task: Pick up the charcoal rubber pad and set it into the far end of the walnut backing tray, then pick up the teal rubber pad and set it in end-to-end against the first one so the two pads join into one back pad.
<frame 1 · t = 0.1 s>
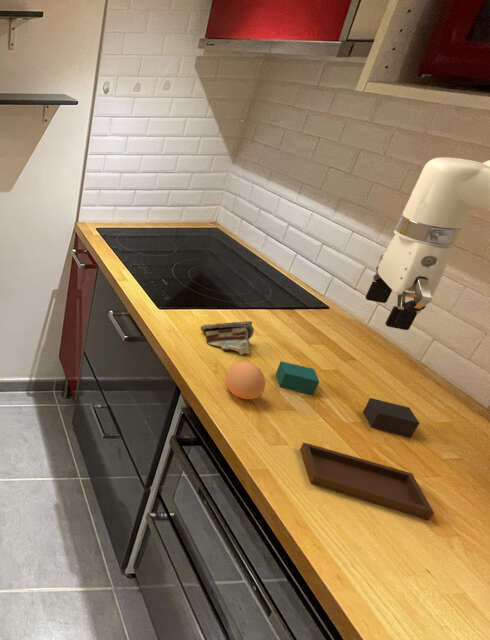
hand: (385, 313, 84), 26 cm above the worktop, tool pointing down, fingers open, 9 cm apart
backing tray: (359, 482, 80), on the worktop
charcoal pad: (385, 424, 93), on the worktop
egg: (239, 395, 100), on the worktop
teal pad: (293, 384, 103), on the worktop
chocolate cake: (225, 345, 116), on the worktop
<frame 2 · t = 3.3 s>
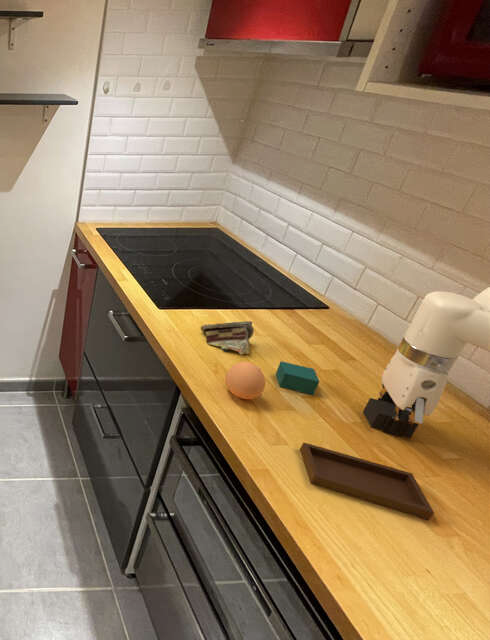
hand: (386, 423, 92), 0 cm above the worktop, tool pointing down, fingers closed on charcoal pad, 4 cm apart
charcoal pad: (385, 424, 93), on the worktop, touching gripper
everything else where it was.
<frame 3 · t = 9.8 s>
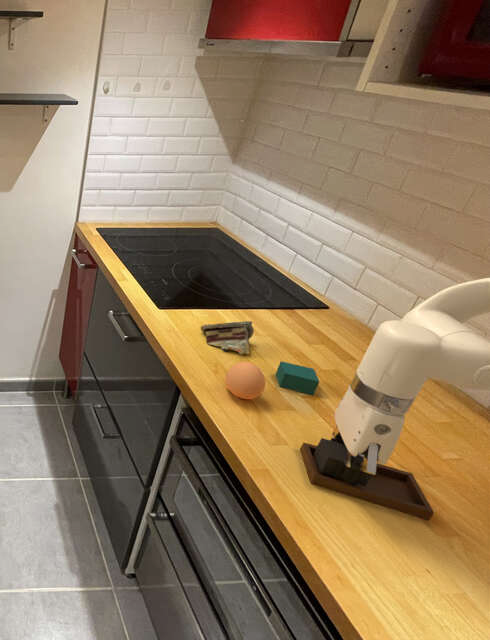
hand: (339, 467, 81), 2 cm above the worktop, tool pointing down, fingers closed on charcoal pad, 4 cm apart
charcoal pad: (338, 469, 81), point 2 cm above the worktop, touching gripper
everything else where it was.
when the fingers open (2 cm above the worktop, at t = 14.6 s): charcoal pad drops 2 cm, resting on backing tray.
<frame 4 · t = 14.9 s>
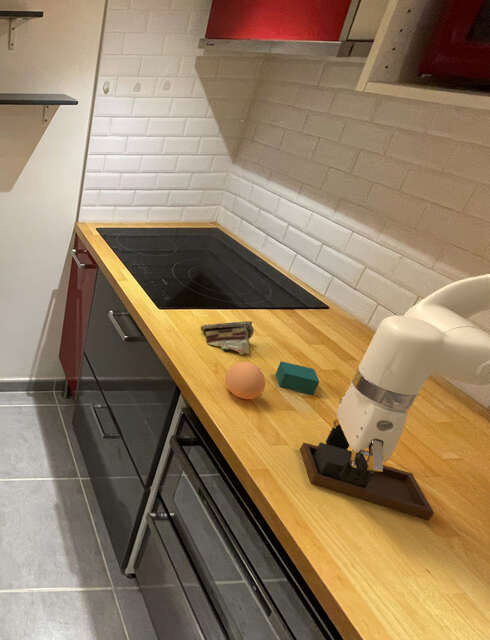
hand: (342, 462, 80), 3 cm above the worktop, tool pointing down, fingers open, 7 cm apart
charcoal pad: (337, 473, 81), resting on backing tray
everything else where it was.
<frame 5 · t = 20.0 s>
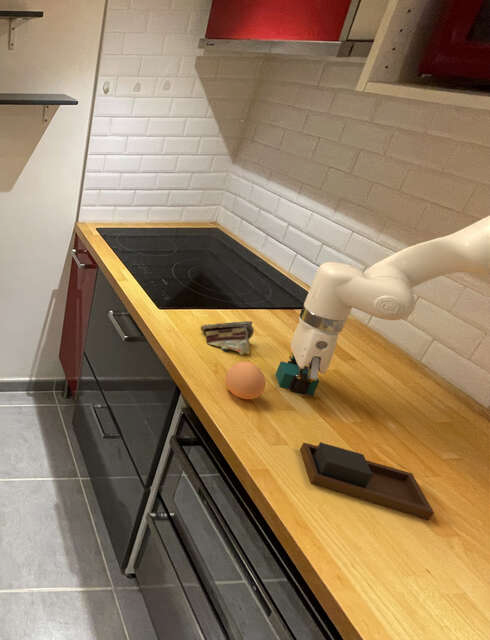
hand: (294, 383, 103), 0 cm above the worktop, tool pointing down, fingers closed on teal pad, 4 cm apart
teal pad: (293, 384, 103), on the worktop, touching gripper
everything else where it was.
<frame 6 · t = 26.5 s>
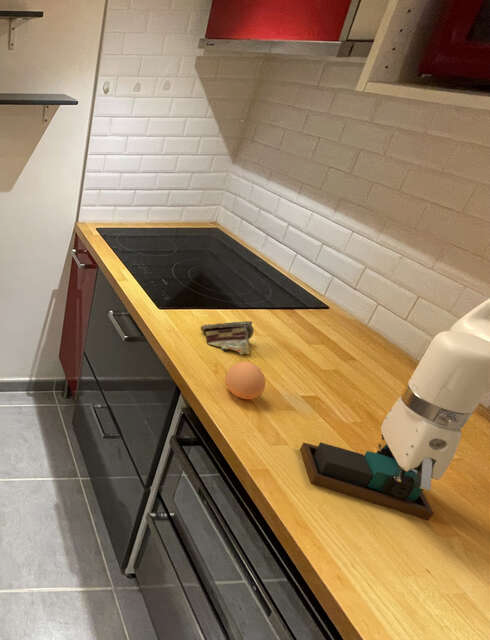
hand: (386, 481, 78), 2 cm above the worktop, tool pointing down, fingers closed on teal pad, 4 cm apart
teal pad: (385, 483, 78), point 2 cm above the worktop, touching gripper
everything else where it was.
when the fingers open (2 cm above the worktop, at t = 31.3 s): teal pad drops 2 cm, resting on backing tray.
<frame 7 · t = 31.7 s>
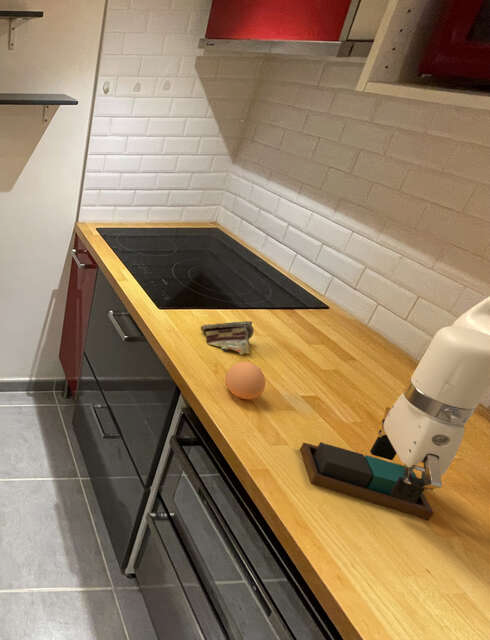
hand: (391, 475, 78), 3 cm above the worktop, tool pointing down, fingers open, 8 cm apart
teal pad: (384, 487, 79), resting on backing tray
everything else where it was.
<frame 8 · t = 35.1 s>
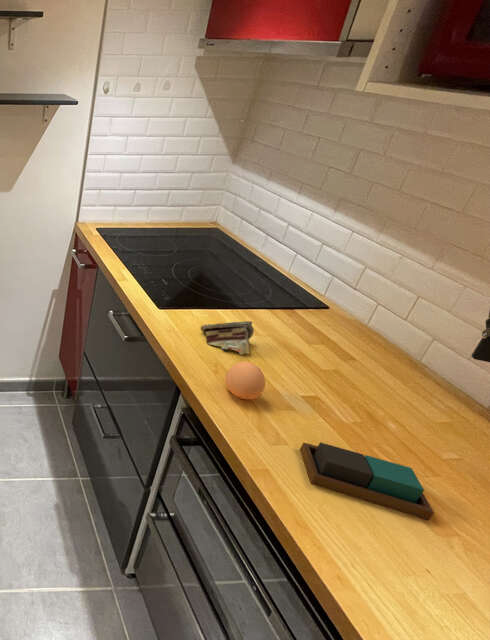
nothing on the worktop moved.
at the end: charcoal pad 0.4 cm from the target spot in the backing tray, point 0.5 cm above the backing tray's base; teal pad 0.4 cm from the target spot in the backing tray, point 0.5 cm above the backing tray's base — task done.
